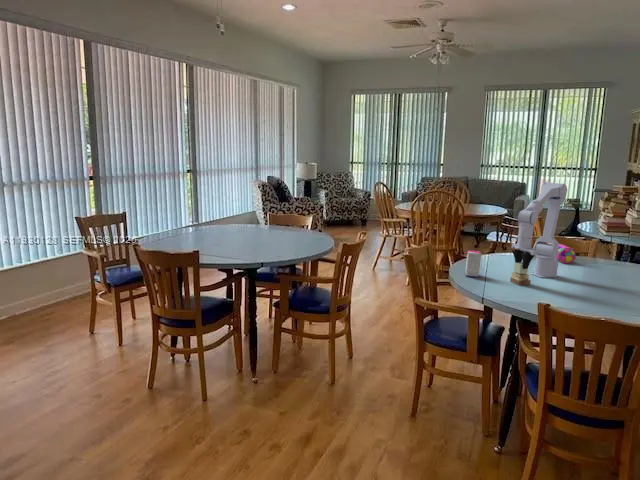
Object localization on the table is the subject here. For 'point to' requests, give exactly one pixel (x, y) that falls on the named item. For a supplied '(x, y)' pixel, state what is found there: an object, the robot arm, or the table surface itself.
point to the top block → (519, 268)
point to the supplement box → (472, 264)
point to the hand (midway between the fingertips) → (521, 267)
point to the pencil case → (565, 254)
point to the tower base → (520, 282)
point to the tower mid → (520, 276)
